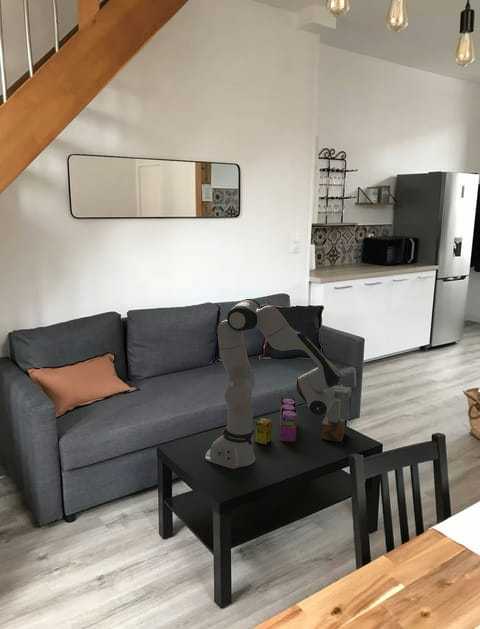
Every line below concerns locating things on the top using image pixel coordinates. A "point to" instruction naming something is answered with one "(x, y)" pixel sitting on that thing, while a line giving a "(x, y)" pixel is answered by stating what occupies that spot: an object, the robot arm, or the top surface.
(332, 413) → the brushed metal block
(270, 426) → the supplement box
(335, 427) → the walnut block
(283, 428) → the gum box
